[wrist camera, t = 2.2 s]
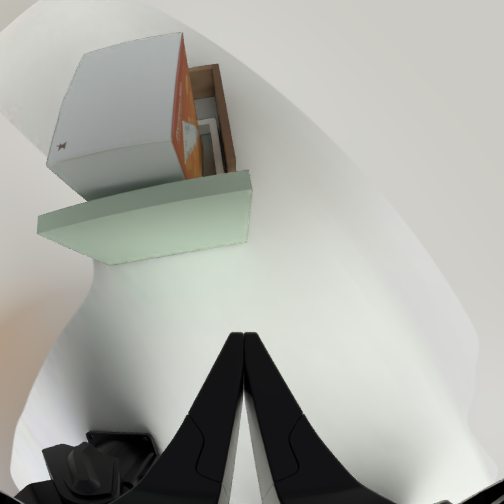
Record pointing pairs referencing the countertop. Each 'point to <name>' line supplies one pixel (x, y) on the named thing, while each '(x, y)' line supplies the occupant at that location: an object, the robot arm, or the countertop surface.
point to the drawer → (158, 216)
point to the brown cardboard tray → (209, 85)
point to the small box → (128, 120)
